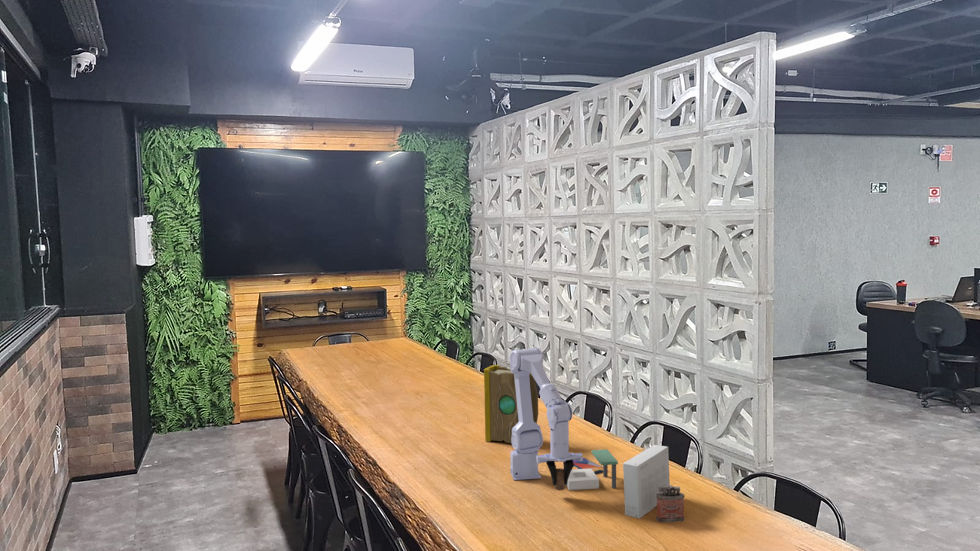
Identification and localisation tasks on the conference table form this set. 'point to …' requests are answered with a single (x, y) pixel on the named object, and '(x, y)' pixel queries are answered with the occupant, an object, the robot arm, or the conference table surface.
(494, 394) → the decorative book
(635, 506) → the skincare box
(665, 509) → the lighter
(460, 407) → the conference table surface
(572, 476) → the socket block
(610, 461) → the small green stool
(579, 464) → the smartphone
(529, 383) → the robot arm
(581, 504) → the conference table surface
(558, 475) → the peg
